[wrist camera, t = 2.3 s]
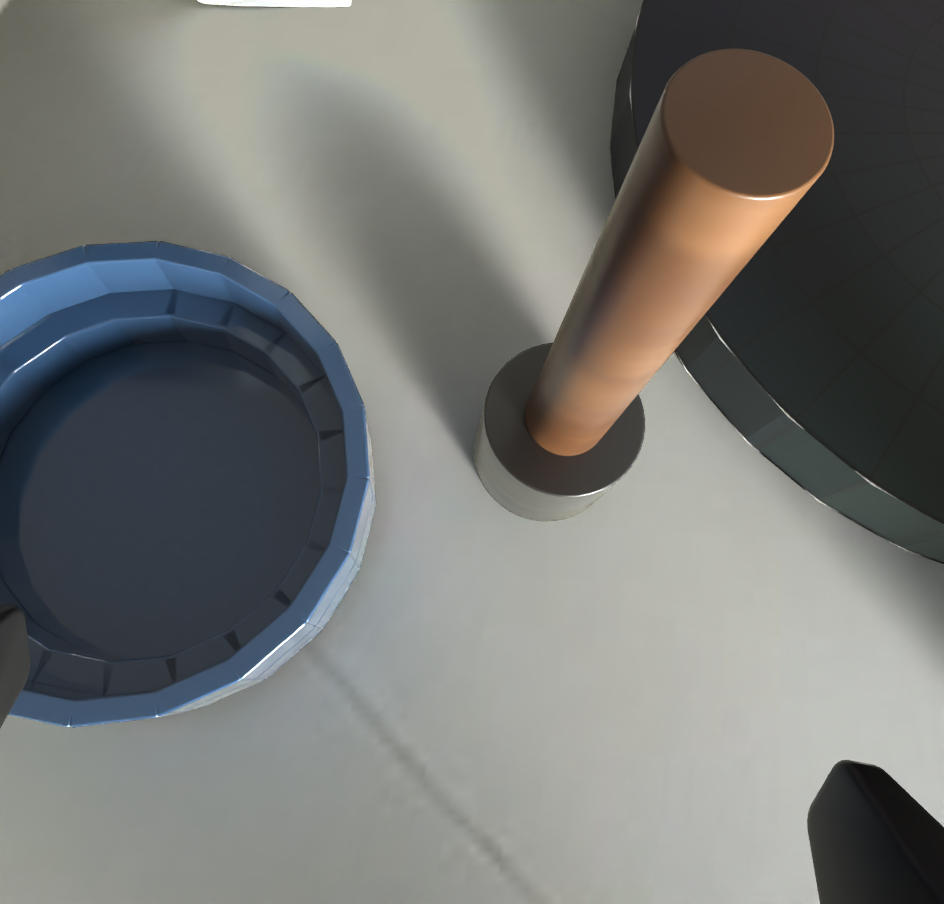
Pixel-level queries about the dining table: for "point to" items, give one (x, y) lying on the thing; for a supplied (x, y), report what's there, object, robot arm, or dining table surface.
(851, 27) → the disc
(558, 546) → the dining table surface
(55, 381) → the bowl
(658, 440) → the dining table surface
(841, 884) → the robot arm
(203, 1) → the syrup box
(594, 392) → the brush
